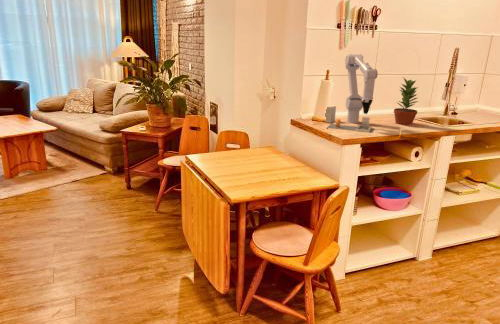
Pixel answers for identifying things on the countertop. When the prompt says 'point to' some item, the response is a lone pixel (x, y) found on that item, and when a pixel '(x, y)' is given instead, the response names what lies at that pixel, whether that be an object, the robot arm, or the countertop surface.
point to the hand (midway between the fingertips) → (366, 112)
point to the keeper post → (337, 122)
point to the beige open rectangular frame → (364, 125)
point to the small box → (330, 114)
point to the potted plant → (406, 105)
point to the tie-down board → (348, 127)
